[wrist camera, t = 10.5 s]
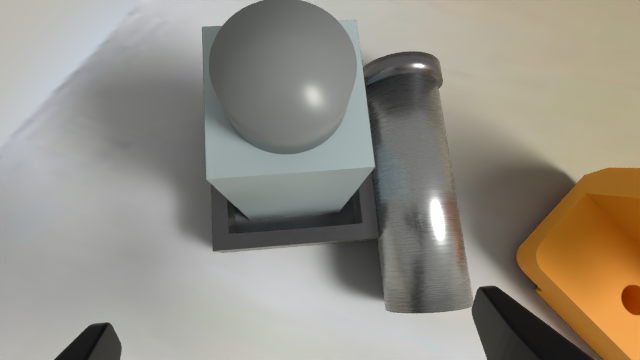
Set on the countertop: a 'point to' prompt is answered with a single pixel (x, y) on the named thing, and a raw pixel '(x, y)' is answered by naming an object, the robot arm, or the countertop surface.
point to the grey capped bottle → (285, 110)
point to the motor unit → (392, 195)
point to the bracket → (592, 261)
